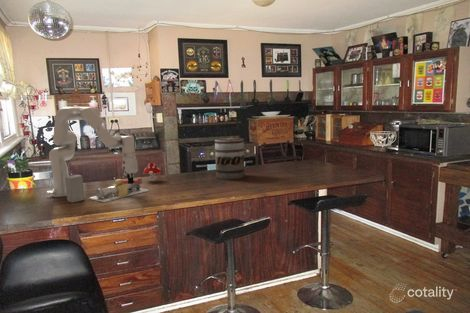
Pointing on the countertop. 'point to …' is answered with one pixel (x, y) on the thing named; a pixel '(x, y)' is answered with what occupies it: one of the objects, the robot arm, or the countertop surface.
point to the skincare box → (74, 188)
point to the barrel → (229, 158)
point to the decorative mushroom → (152, 171)
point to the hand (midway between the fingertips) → (130, 183)
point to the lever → (120, 181)
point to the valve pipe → (117, 192)
